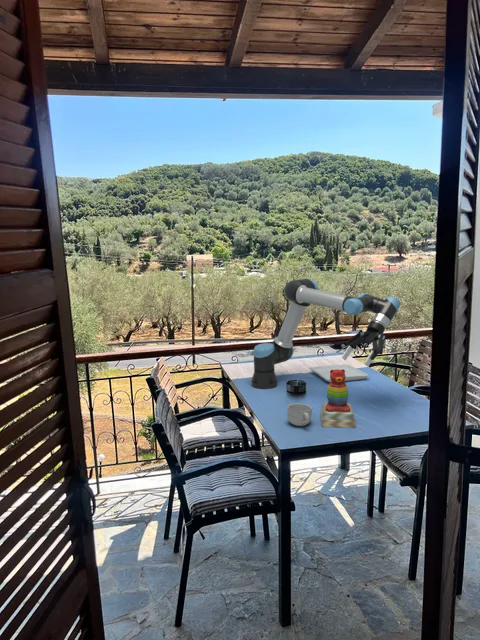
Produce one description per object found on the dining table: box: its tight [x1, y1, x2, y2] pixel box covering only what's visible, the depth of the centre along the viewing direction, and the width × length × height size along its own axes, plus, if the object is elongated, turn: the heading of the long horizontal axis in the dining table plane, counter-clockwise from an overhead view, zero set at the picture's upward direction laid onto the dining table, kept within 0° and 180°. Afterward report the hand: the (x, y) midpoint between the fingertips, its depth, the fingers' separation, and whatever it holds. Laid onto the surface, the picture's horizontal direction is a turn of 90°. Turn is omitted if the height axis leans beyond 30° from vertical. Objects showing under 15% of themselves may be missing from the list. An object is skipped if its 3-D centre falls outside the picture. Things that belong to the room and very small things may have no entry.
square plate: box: [308, 363, 370, 383], centre depth 259 cm, size 27×27×4 cm
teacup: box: [286, 402, 313, 427], centre depth 188 cm, size 14×11×8 cm
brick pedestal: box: [320, 402, 356, 429], centre depth 192 cm, size 14×14×6 cm
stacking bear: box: [325, 369, 350, 412], centre depth 190 cm, size 11×10×18 cm
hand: (354, 361), depth 194 cm, fingers open, 13 cm apart
